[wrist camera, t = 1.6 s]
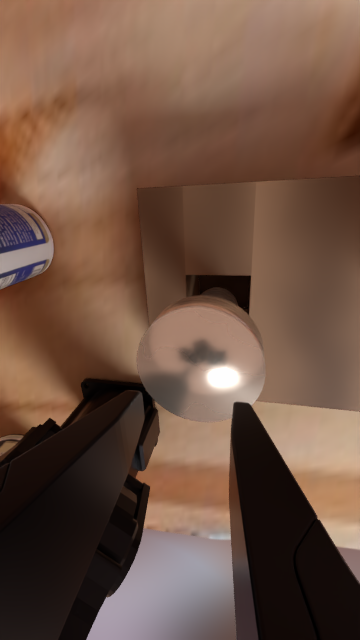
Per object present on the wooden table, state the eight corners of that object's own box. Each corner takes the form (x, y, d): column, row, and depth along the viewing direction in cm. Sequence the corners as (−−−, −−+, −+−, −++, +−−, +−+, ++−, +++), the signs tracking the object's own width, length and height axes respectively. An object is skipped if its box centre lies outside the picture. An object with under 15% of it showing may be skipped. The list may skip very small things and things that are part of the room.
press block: (171, 356, 23) (155, 390, 19) (161, 190, 18) (136, 188, 14) (437, 376, 19) (488, 424, 15) (509, 171, 14) (611, 161, 10)
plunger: (178, 341, 17) (142, 414, 11) (175, 266, 15) (130, 307, 9) (257, 346, 16) (260, 428, 10) (262, 266, 14) (270, 312, 8)
